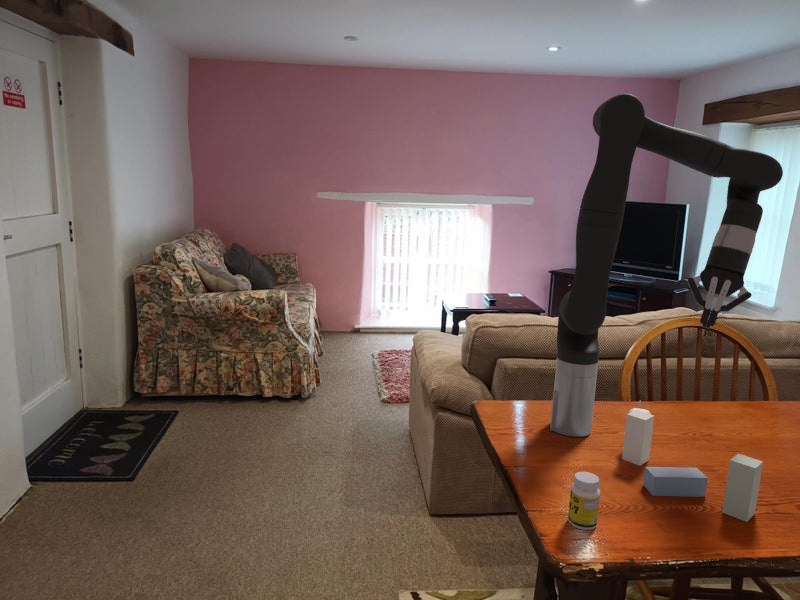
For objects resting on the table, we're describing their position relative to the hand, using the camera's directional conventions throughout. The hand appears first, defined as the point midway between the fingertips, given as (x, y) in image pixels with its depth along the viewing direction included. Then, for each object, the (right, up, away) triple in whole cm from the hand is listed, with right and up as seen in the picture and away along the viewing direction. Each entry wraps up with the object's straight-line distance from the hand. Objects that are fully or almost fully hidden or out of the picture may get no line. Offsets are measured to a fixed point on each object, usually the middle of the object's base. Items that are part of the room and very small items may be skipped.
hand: (705, 327), depth 126 cm
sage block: (-5, -32, -21) cm, 39 cm away
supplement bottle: (-34, -32, -26) cm, 54 cm away
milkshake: (-13, -27, +5) cm, 30 cm away
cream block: (-16, -28, -1) cm, 32 cm away
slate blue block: (-8, -29, -14) cm, 33 cm away
